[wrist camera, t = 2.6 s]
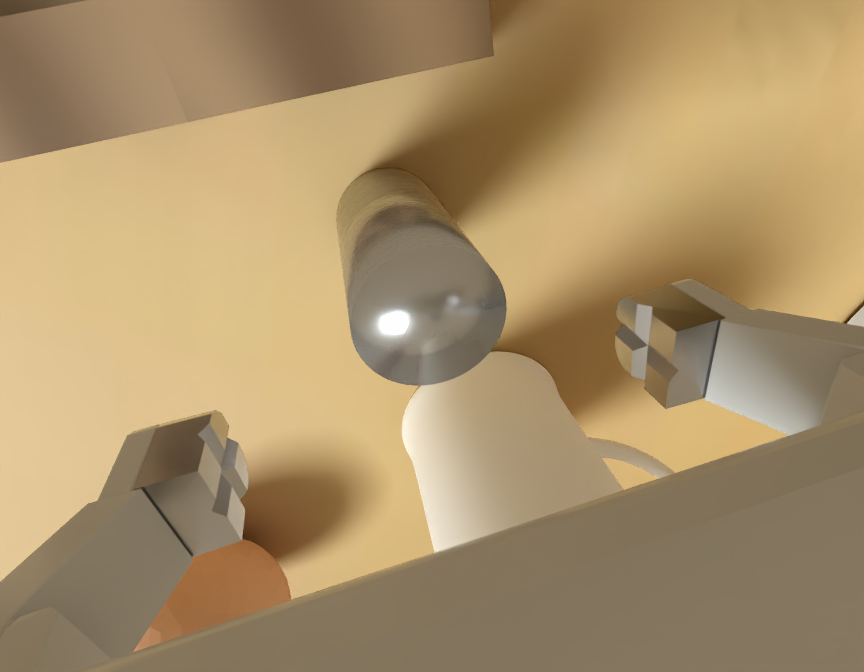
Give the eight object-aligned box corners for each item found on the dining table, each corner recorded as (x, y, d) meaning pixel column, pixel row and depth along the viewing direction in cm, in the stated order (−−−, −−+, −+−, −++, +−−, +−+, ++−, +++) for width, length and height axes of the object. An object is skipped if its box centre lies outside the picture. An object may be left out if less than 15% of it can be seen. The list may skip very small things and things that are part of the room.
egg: (189, 487, 23) (135, 680, 16) (318, 525, 27) (320, 698, 20) (126, 573, 26) (56, 775, 19) (253, 598, 29) (234, 777, 22)
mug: (629, 343, 25) (843, 548, 15) (588, 460, 29) (731, 680, 19) (405, 353, 22) (482, 612, 12) (397, 481, 26) (448, 748, 16)
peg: (429, 157, 18) (499, 227, 11) (445, 255, 20) (512, 363, 13) (323, 181, 17) (329, 270, 11) (352, 278, 19) (372, 401, 13)
